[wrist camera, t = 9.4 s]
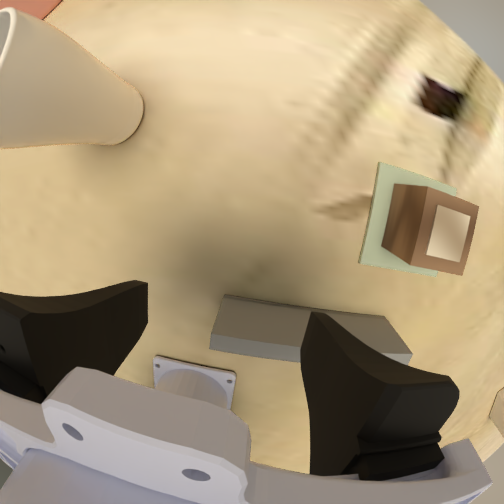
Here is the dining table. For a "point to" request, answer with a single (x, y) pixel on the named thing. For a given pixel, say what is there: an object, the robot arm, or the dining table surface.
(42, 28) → the beige paper cup
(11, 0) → the cake
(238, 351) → the grey block
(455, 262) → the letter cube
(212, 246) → the dining table surface
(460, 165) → the dining table surface
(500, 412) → the medicine bottle
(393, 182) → the pad
